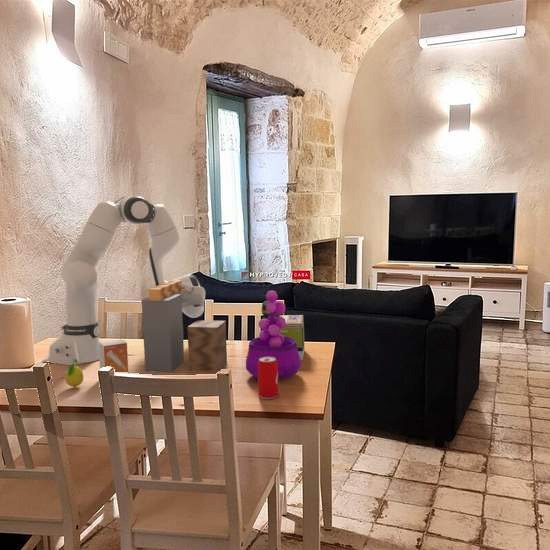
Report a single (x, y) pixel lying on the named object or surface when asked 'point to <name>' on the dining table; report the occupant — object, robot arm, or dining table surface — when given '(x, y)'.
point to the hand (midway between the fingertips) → (173, 285)
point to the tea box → (294, 331)
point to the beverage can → (267, 377)
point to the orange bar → (165, 290)
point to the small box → (114, 355)
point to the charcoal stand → (163, 333)
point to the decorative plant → (273, 342)
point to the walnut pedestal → (207, 345)
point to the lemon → (74, 375)
